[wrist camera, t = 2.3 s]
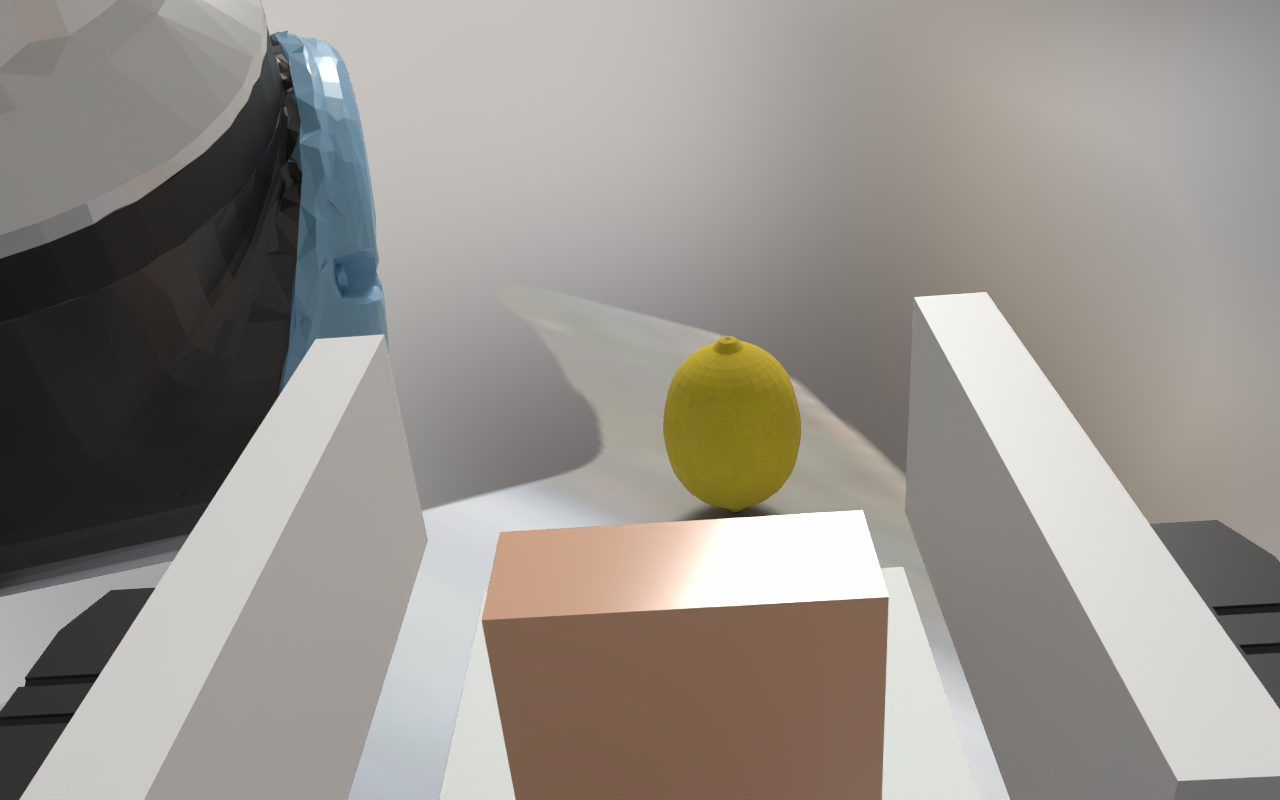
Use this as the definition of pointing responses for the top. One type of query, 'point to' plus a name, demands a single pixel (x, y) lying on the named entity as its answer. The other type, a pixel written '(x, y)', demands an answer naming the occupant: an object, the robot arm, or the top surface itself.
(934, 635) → the top surface
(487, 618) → the block
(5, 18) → the robot arm
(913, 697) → the mat
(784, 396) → the lemon
